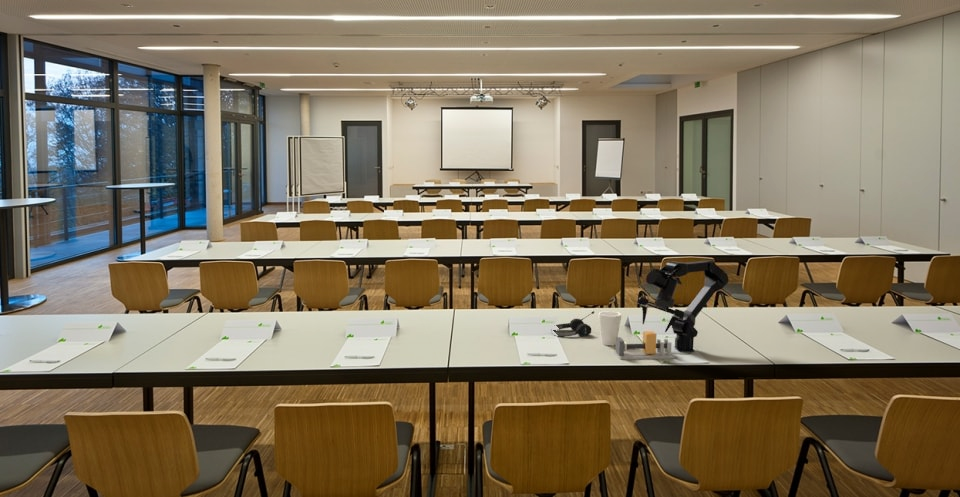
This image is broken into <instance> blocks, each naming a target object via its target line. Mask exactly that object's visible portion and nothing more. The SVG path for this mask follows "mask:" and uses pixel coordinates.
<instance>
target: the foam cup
mask: <svg viewBox="0 0 960 497" xmlns="http://www.w3.org/2000/svg"><path fill="white" fill-rule="evenodd" d="M621 320H622V313H621V312H618V311H612V310H611V311H607V310H606V311H605V310H604V311H600V312H598V324H599V332H600V341H601V344H602V345H603V344H604V346H608V345H612V346H616V337H619V332H620V325H621Z"/></svg>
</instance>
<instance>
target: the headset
mask: <svg viewBox="0 0 960 497" xmlns="http://www.w3.org/2000/svg"><path fill="white" fill-rule="evenodd" d="M593 314H595V310H593V311H591V313H589V314H587V316H585V317H584V318H581V319H580V318H573V319H572V320H571V321H570V322H568V323H567V322H566V323H559V324H555V325H556V326H557V327H558V328H559V330H557V331H556V330H553V331H554V332H555V333H556V334H557V335H558V336H557V337H560V338H564V337H566V338H567V337H572V336H576V335H578V336H579V337H588V336H590V334H591V332H592V327H591V326H590V325H589V324H587V323H584V321H583V320H584V319H586V318H587V317H589V316H590V315H593ZM569 328H570V329H571V330H564V331H562V329H569Z"/></svg>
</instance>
